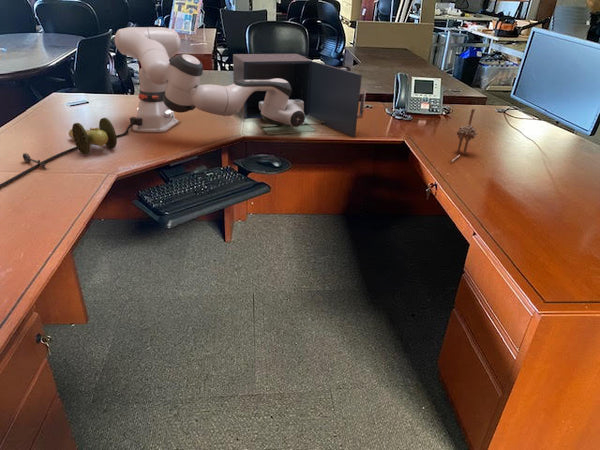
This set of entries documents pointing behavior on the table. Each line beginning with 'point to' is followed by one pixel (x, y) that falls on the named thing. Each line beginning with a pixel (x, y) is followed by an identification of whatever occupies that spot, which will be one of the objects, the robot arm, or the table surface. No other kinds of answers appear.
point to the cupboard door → (336, 97)
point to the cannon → (93, 136)
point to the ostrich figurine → (466, 134)
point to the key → (28, 159)
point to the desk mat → (287, 129)
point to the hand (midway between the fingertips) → (276, 101)
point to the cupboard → (272, 67)
